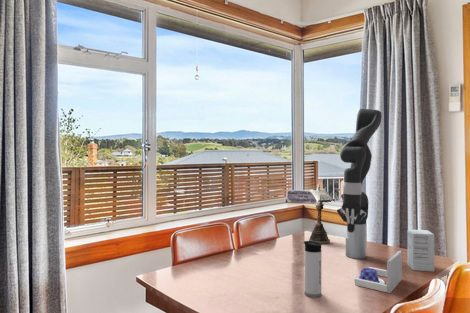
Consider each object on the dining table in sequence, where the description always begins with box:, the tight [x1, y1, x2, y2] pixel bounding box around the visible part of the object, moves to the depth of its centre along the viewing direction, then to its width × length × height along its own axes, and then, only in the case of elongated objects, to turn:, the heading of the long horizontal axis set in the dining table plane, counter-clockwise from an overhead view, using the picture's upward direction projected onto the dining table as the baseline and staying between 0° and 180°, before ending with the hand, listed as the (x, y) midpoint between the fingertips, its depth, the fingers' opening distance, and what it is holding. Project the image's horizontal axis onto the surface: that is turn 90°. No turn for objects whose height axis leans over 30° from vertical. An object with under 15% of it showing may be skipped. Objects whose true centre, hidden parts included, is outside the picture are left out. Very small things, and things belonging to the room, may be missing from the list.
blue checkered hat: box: [353, 267, 386, 284], centre depth 147 cm, size 12×12×5 cm
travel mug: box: [303, 240, 322, 298], centre depth 134 cm, size 6×7×20 cm
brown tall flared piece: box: [308, 183, 336, 245], centre depth 209 cm, size 17×13×35 cm
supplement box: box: [406, 229, 435, 272], centre depth 164 cm, size 10×9×17 cm
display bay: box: [354, 250, 403, 294], centre depth 146 cm, size 14×18×12 cm
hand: (351, 232), depth 154 cm, fingers closed
